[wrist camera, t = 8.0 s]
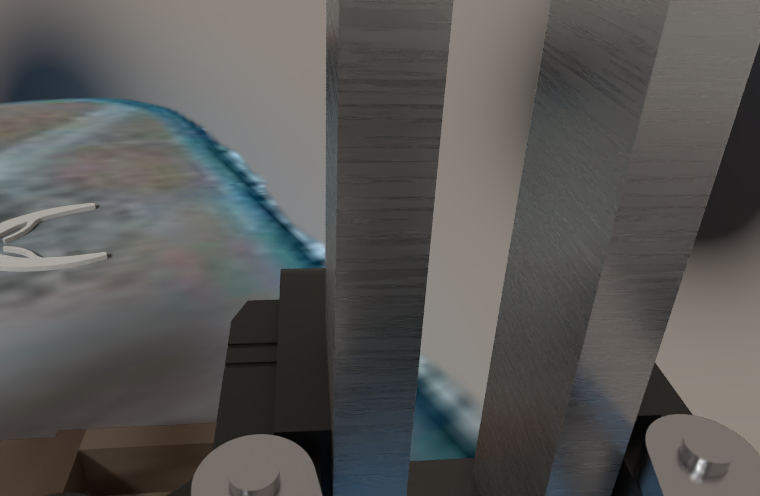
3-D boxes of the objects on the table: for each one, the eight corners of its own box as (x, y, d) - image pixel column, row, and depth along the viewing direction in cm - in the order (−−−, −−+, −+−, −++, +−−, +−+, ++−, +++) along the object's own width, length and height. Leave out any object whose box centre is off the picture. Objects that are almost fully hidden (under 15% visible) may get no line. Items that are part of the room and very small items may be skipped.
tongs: (277, 921, 11) (100, -833, 2) (282, 671, 14) (220, -412, 6) (561, 882, 12) (1300, -634, 3) (501, 651, 15) (750, -359, 6)
